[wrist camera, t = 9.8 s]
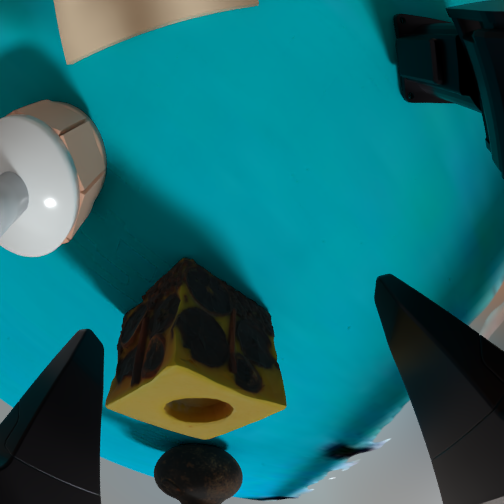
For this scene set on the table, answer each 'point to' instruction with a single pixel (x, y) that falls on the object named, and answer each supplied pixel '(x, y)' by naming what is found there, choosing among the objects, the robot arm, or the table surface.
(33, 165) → the lid
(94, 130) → the bowl
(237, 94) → the table surface
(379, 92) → the table surface
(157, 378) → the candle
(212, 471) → the dark brown vase
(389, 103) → the table surface
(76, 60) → the mat
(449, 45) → the robot arm
